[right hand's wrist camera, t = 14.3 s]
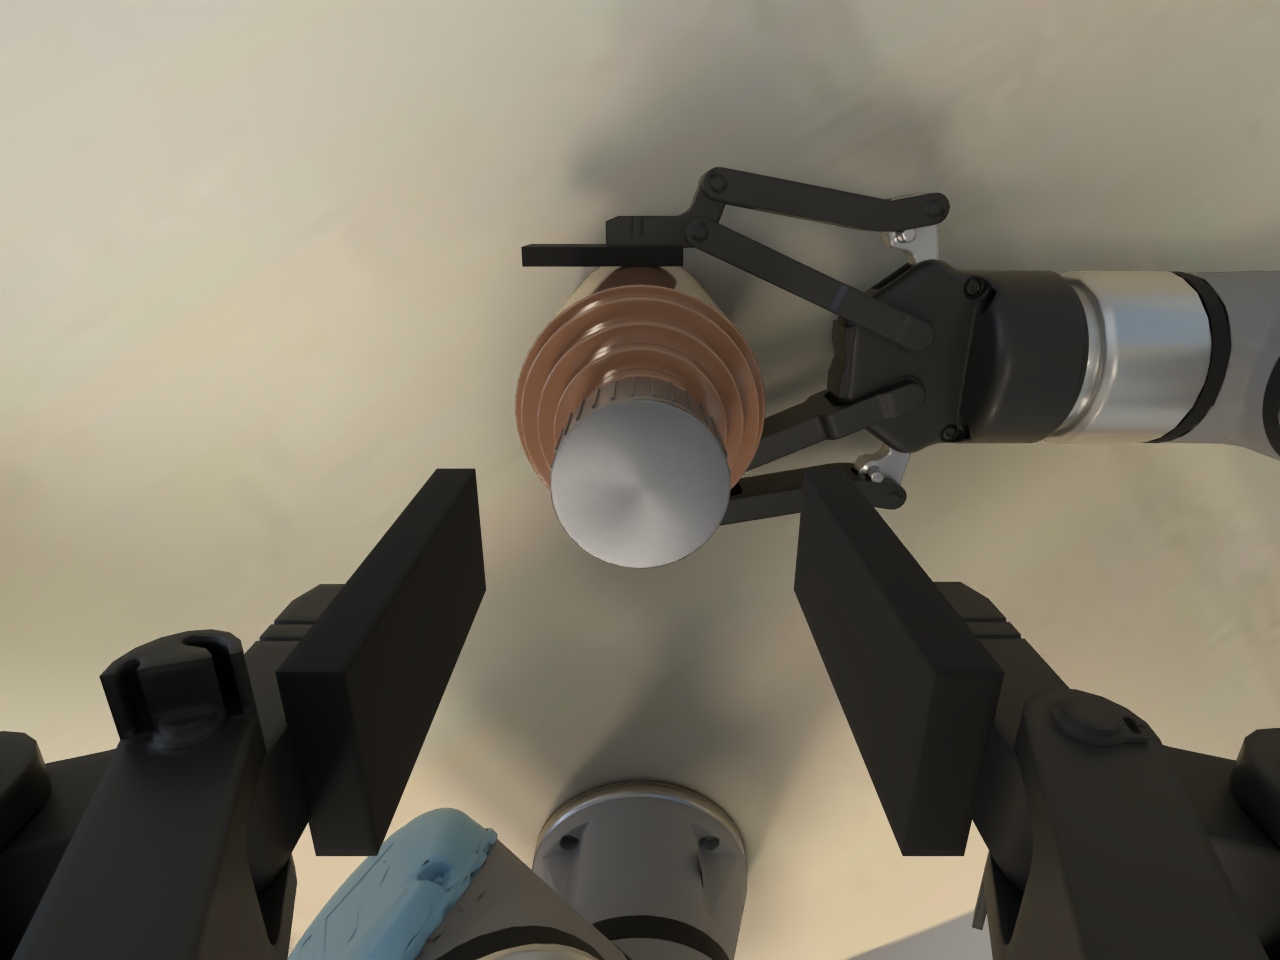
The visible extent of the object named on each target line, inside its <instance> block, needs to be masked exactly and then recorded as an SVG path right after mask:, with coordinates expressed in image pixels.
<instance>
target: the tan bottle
mask: <svg viewBox="0 0 1280 960" xmlns="http://www.w3.org/2000/svg"><path fill="white" fill-rule="evenodd" d="M632 377H635V378H646V379H651V377H654V379H655V380H660V381H664V382H667V383H669V382H672V383H673V385H675V386H677V387H679V388H681V389H683V390H684V391H686V390H688V391H689V392H690V395H691V396H693V397H694V398H695V399H696V400H697V401H698V402H699V403H701V402H702V403H703V404H704V407H705V410H706V411H707V413H708V414H709V416H710V417H712V416H713V418H714V420H715V423H716V426H717V429H718V432H719V433H720V435H721V437H722V440H723V443H724V446H725V448H726V451H727V454H728V458H726V459H727V462H728V466H729V469H730V472H731V476H730V478H731V489H732V488H733V487H734V486H735V485H736V483H737V482H738V481H739V480H740V478H741V477H742V476H743V475H744V473H745V471H746V470H747V468H748V466H749V465H750V463H751V461H752V460H753V457H754V455H755V453H756V450H757V448H758V446H759V442H760V439H761V435H762V432H763V426H764V419H765V394H764V386H763V381H762V377H761V373H760V369H759V367H758V364H757V362H756V359H755V357H754V355H753V352H752V351H751V349H750V347H749V346H748V344H747V342H746V341H745V339H744V338H743V336H742V335H741V334H740V333H739V331H738V330H737V329H736V328H735V326H734V325H733V324H732V323H731V321H730V320H729V319H728V318H727V317H726V315H725V314H724V313H723V312H722V311H721V309H720V308H719V307H718V306H717V305H716V304H715V302H714V301H713V300H712V299H711V298H710V296H709V295H708V294H707V293H706V292H705V290H704V289H703V288H702V287H701V286H700V284H699V283H698V282H697V281H696V280H695V279H694V278H693V277H692V276H691V275H690V274H689V273H688V272H687V271H685V270H684V269H683V268H681V267H643V266H639V267H599V268H598V269H596V270H595V271H594V272H592V273H591V274H590V275H589V276H588V277H587V278H586V279H585V280H584V281H583V283H582V284H581V285H580V286H579V287H578V289H577V290H576V291H575V292H574V293H573V295H572V296H571V297H570V298H569V299H568V301H567V302H566V303H565V304H564V305H563V307H562V308H561V309H560V310H559V311H558V313H557V314H556V315H555V316H554V318H553V319H552V320H551V321H550V322H549V324H548V325H547V326H546V327H545V328H544V330H543V331H542V332H541V333H540V334H539V336H538V337H537V339H536V340H535V342H534V343H533V345H532V347H531V348H530V350H529V352H528V354H527V356H526V359H525V361H524V363H523V365H522V369H521V372H520V376H519V379H518V384H517V391H516V405H515V413H516V421H517V429H518V433H519V437H520V440H521V444H522V446H523V449H524V451H525V454H526V456H527V458H528V460H529V462H530V464H531V465H532V467H533V469H534V471H535V472H536V473H537V475H538V476H539V477H540V479H541V480H542V481H543V483H544V484H545V485H546V486H547V487H548V488H549V489H550V477H551V471H550V467H551V465H552V462H553V459H554V456H555V452H554V451H555V448H556V445H557V442H558V439H559V437H560V434H561V431H562V428H564V429H565V426H566V423H567V420H568V417H569V414H570V413H571V412H572V413H574V411H575V410H576V408H577V407H578V406H579V405H580V402H581V400H582V399H584V400H585V399H586V398H587V397H588V396H590V395H591V394H592V393H594V392H595V390H596V388H598V387H599V389H600V388H602V387H604V386H606V385H608V384H611V383H613V381H614V380H616V381H621V380H626V379H632Z"/></svg>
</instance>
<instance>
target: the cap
mask: <svg viewBox="0 0 1280 960" xmlns="http://www.w3.org/2000/svg"><path fill="white" fill-rule="evenodd" d="M554 452H555V456H554V459H553V462H552V465H551V467H550V471H551V477H550V490H551V499H552V503H553V507H554V510H555V512H556V515H557V517H558V519H559V521H560V523H561V525H562V526H563V528H564V530H565V531H566V532H567V534H568V535H569V536H570V537H571V538H572V539H573V540H574V541H575V542H576V543H577V544H578V545H579V546H580V547H581V548H582V549H584V550H585V551H586V552H588V553H589V554H591V555H593V556H594V557H596V558H598V559H600V560H603V561H605V562H607V563H611V564H614V565H617V566H622V567H628V568H653V567H659V566H663V565H667V564H670V563H673V562H676V561H678V560H680V559H683V558H685V557H686V556H688V555H690V554H692V553H693V552H694V551H696V550H697V549H698V548H700V547H701V546H702V545H703V544H704V543H705V542H706V541H707V540H708V539H709V538H710V537H711V536H712V535H713V533H714V532H715V531H716V529H717V528H718V526H719V525H720V523H721V521H722V519H723V517H724V515H725V512H726V510H727V506H728V502H729V498H730V490H731V478H730V476H731V472H730V469H729V466H728V462H727V459H726V458H728V454H727V451H726V448H725V446H724V443H723V440H722V437H721V435H720V433H719V432H718V429H717V426H716V423H715V420H714V418H713V416H712V417H710V416H709V414H708V413H707V411H706V410H705V407H704V404H703V403H702V402H701V403H699V402H698V401H697V400H696V399H695V398H694V397H693V396H691V395H690V392H689V391H688V390H686V391H684V390H683V389H681V388H679V387H677V386H675V385H673V383H672V382H669V383H667V382H664V381H660V380H655V379H654V377H651V379H646V378H635V377H632V379H626V380H621V381H616V380H614V381H613V383H611V384H608V385H606V386H604V387H602V388H600V389H599V387H598V388H596V390H595V392H594V393H592V394H591V395H590V396H588V397H587V398H586V399H585V400H584V399H582V400H581V402H580V405H579V406H578V407H577V408H576V410H575V411H574V413H572V412H571V413H570V414H569V417H568V420H567V423H566V426H565V429H564V428H562V431H561V434H560V437H559V439H558V442H557V445H556V448H555V451H554Z"/></svg>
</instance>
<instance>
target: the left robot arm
mask: <svg viewBox="0 0 1280 960" xmlns="http://www.w3.org/2000/svg"><path fill="white" fill-rule="evenodd" d="M725 204H727V205H732V206H737V207H743V208H748V209H753V210H758V211H763V212H768V213H773V214H779V215H784V216H789V217H794V218H799V219H804V220H810V221H815V222H820V223H825V224H830V225H835V226H841V227H846V228H851V229H857V230H866V231H879V232H881V237H882V241H883V243H884V244H885V245H886V246H887V247H889V248H893V249H900V250H902V251H903V252H904V253H905V254H906V256H907V259H908V263H906V264H905V265H903V266H902V267H900V268H899V269H898V270H896V271H895V272H893V273H892V274H890V275H889V276H887V277H886V278H884V279H883V280H882V281H880V282H879V283H877V284H876V285H874V286H873V287H871V288H870V289H869V290H867V291H866V292H864V293H863V292H861V291H859V290H857V289H855V288H853V287H851V286H848V285H846V284H844V283H842V282H839V281H837V280H835V279H833V278H831V277H829V276H827V275H825V274H823V273H821V272H819V271H816V270H814V269H812V268H810V267H808V266H806V265H804V264H802V263H800V262H798V261H796V260H794V259H791V258H789V257H787V256H785V255H783V254H781V253H779V252H777V251H775V250H773V249H771V248H769V247H766V246H764V245H762V244H760V243H758V242H756V241H754V240H752V239H750V238H748V237H746V236H744V235H741V234H739V233H737V232H735V231H733V230H731V229H729V228H727V227H725V226H723V225H721V224H718V223H719V220H720V217H721V215H722V212H723V209H724V207H725ZM949 207H950V205H949V201H948V199H947V198H946V196H945V195H943V194H941V193H926V194H912V195H906V196H901V197H895V198H890V199H880V198H875V197H870V196H864V195H859V194H854V193H849V192H844V191H839V190H834V189H829V188H824V187H819V186H814V185H809V184H804V183H799V182H793V181H788V180H783V179H778V178H773V177H768V176H763V175H758V174H753V173H748V172H743V171H738V170H733V169H727V168H722V167H716V168H713V169H711V170H709V171H708V172H706V173H705V174H704V175H703V176H702V177H701V178H700V181H699V183H698V188H697V190H696V193H695V196H694V199H693V201H692V204H691V206H690V207H689V209H688V210H687V211H686V212H684V213H683V214H681V215H678V216H617V217H615V218H613V219H610V220H608V221H606V244H530V245H527V246H523V247H522V265H523V266H578V267H639V266H643V267H683V248H697V249H699V250H701V251H704V252H706V253H708V254H710V255H712V256H714V257H716V258H718V259H721V260H723V261H725V262H727V263H729V264H731V265H733V266H735V267H737V268H740V269H742V270H744V271H746V272H748V273H750V274H752V275H754V276H757V277H759V278H761V279H763V280H765V281H767V282H769V283H771V284H774V285H776V286H778V287H780V288H782V289H784V290H786V291H788V292H790V293H793V294H795V295H797V296H799V297H801V298H803V299H805V300H807V301H810V302H812V303H814V304H816V305H818V306H820V307H822V308H824V309H827V310H829V311H831V312H833V313H835V314H837V315H839V317H838V319H837V320H833V330H832V341H833V347H834V353H835V354H834V358H833V360H832V363H831V366H830V369H829V371H828V381H827V388H828V389H826V390H824V391H821V392H819V393H816V394H814V395H812V396H810V397H809V398H808V399H807V400H806V401H805V402H803V403H801V404H799V405H796V406H794V407H791V408H789V409H787V410H784V411H782V412H779V413H777V414H775V415H772V416H770V417H767V418H765V419H764V426H763V432H762V435H761V439H760V442H759V446H758V448H757V450H756V453H755V455H754V457H753V460H752V461H751V463H750V465H749V466H748V468H747V470H746V471H745V472H747V471H749V470H752V469H754V468H757V467H759V466H761V465H764V464H766V463H769V462H771V461H774V460H776V459H779V458H781V457H784V456H786V455H789V454H791V453H793V452H796V451H798V450H801V449H803V448H806V447H808V446H811V445H813V444H816V443H818V442H821V441H823V440H835V439H839V438H842V437H844V436H847V435H849V434H852V433H854V432H857V431H859V430H862V429H864V428H865V429H866V430H868V431H869V432H870V433H871V434H873V435H874V436H875V437H877V438H878V439H879V440H881V441H882V442H883V443H884V444H883V446H882V448H881V449H880V450H879V451H877V452H875V453H873V454H865V455H861V456H859V457H858V458H857V460H856V462H855V464H854V463H833V464H826V465H820V466H814V467H807V468H801V469H795V470H789V471H783V472H777V473H771V474H765V475H759V476H753V477H747V478H741V479H740V480H739V481H738V482H737V483H736V485H735V486H734V487H733V488H732V489H731V490H730V498H729V502H728V506H727V510H726V512H725V515H724V517H723V519H722V521H721V523H720V525H726V524H732V523H739V522H745V521H751V520H757V519H763V518H770V517H776V516H782V515H788V514H794V513H801V505H802V494H803V483H804V472H805V469H844V471H845V472H846V473H847V474H848V476H849V477H850V478H851V479H852V481H853V482H854V483H855V484H856V486H857V487H858V488H859V489H860V491H861V492H862V493H863V494H864V496H865V497H866V498H867V500H868V501H869V502H870V503H871V505H872V506H873V507H878V508H884V509H897V508H899V507H901V506H902V505H903V504H904V502H905V501H906V496H907V495H906V492H905V490H904V489H903V488H902V487H901V486H900V484H901V480H902V477H903V474H904V471H905V468H906V465H907V462H908V459H909V456H910V453H914V452H917V451H919V450H921V449H923V448H925V447H927V446H930V445H933V444H937V443H1034V442H1038V441H1041V440H1044V441H1046V442H1050V443H1056V444H1067V443H1121V442H1142V443H1160V442H1163V443H1221V444H1229V445H1236V446H1241V447H1245V448H1248V449H1251V450H1254V451H1256V452H1259V453H1261V454H1264V455H1266V456H1269V457H1272V458H1274V459H1277V460H1279V461H1280V271H1248V272H1206V273H1184V272H1170V271H1067V272H1064V273H1062V274H1060V275H1059V274H1057V273H1055V272H1052V271H965V270H957V269H955V268H953V267H952V266H950V265H949V264H947V263H945V262H943V261H941V260H939V223H941V222H942V221H943V220H944V219H945V218H946V216H947V215H948V213H949ZM720 525H719V526H720ZM746 892H747V865H746V859H745V853H744V847H743V843H742V840H741V837H740V835H739V832H738V830H737V829H736V827H735V825H734V824H733V822H732V821H731V820H730V818H729V817H728V816H727V815H726V814H725V813H724V812H723V811H722V810H721V809H720V808H719V807H718V806H716V805H715V804H714V803H712V802H711V801H709V800H708V799H706V798H704V797H703V796H701V795H699V794H697V793H695V792H693V791H690V790H688V789H685V788H682V787H679V786H675V785H672V784H666V783H661V782H653V781H626V782H618V783H613V784H608V785H604V786H600V787H597V788H594V789H592V790H589V791H587V792H584V793H582V794H580V795H578V796H576V797H575V798H573V799H571V800H570V801H568V802H567V803H566V804H564V805H563V806H562V807H560V808H559V809H558V810H557V811H556V812H555V813H554V814H553V815H552V816H551V817H550V819H549V820H548V821H547V823H546V824H545V825H544V827H543V829H542V831H541V833H540V835H539V838H538V840H537V844H536V848H535V854H534V860H533V867H532V870H531V869H530V868H529V867H528V866H527V865H526V864H524V863H523V862H522V861H521V860H520V859H519V858H518V857H517V856H516V855H514V854H513V853H512V852H511V851H510V850H509V849H508V848H507V847H506V846H505V845H503V844H502V843H501V842H500V841H499V840H498V839H497V833H496V832H495V831H494V830H493V829H491V828H487V829H485V828H483V827H482V826H481V825H479V824H478V823H477V822H475V821H474V820H473V819H472V818H470V817H469V816H468V815H466V814H465V813H464V812H462V811H460V810H457V809H453V808H440V809H435V810H432V811H429V812H426V813H424V814H422V815H420V816H418V817H416V818H415V819H413V820H412V821H410V822H409V823H408V824H406V825H405V826H403V827H402V828H400V829H399V830H398V831H396V832H395V833H394V834H392V835H391V836H390V837H389V838H388V839H387V840H385V841H384V842H383V843H382V845H381V848H380V850H379V853H378V855H377V856H368V857H367V858H366V859H365V860H364V861H363V862H362V863H361V865H360V866H359V867H358V868H357V869H356V870H355V871H354V872H353V873H352V874H351V875H350V876H349V877H348V879H347V880H346V881H345V882H344V883H343V884H342V886H341V887H340V888H339V889H338V890H337V891H336V893H335V894H334V895H333V896H332V898H331V899H330V900H329V901H328V902H327V904H326V905H325V906H324V907H323V909H322V910H321V911H320V913H319V914H318V915H317V917H316V918H315V919H314V921H313V922H312V923H311V925H310V926H309V928H308V929H307V930H306V932H305V933H304V935H303V936H302V937H301V939H300V940H299V942H298V943H297V945H296V946H295V948H294V950H293V951H292V953H291V954H290V956H289V957H288V959H287V960H734V956H735V951H736V945H737V940H738V935H739V930H740V925H741V919H742V914H743V909H744V904H745V899H746Z"/></svg>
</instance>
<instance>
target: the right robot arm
mask: <svg viewBox="0 0 1280 960" xmlns="http://www.w3.org/2000/svg"><path fill="white" fill-rule="evenodd" d="M485 591H486V583H485V572H484V561H483V550H482V539H481V527H480V516H479V505H478V494H477V483H476V472H475V469H436V471H435V472H434V473H433V474H432V476H431V477H430V478H429V479H428V481H427V482H426V483H425V484H424V486H423V487H422V488H421V489H420V491H419V492H418V493H417V494H416V496H415V497H414V498H413V500H412V501H411V502H410V503H409V505H408V506H407V507H406V508H405V510H404V511H403V512H402V513H401V515H400V516H399V517H398V518H397V520H396V521H395V522H394V523H393V525H392V526H391V527H390V528H389V530H388V531H387V532H386V534H385V535H384V536H383V537H382V539H381V540H380V541H379V542H378V544H377V545H376V546H375V547H374V549H373V550H372V551H371V552H370V554H369V555H368V556H367V557H366V559H365V560H364V561H363V562H362V564H361V565H360V566H359V567H358V569H357V570H356V571H355V573H354V574H353V575H352V576H351V578H350V579H349V580H348V581H347V583H346V584H320V585H318V586H316V587H315V588H313V589H311V590H310V591H308V592H306V593H305V594H303V595H301V596H300V597H298V598H296V599H295V600H293V601H292V602H291V603H290V604H289V605H288V606H287V607H286V608H285V610H284V611H283V612H282V613H281V614H280V615H279V616H278V617H277V618H276V620H275V621H274V622H275V623H274V625H270V626H269V627H268V628H267V630H266V631H265V632H264V633H263V634H262V635H261V636H260V641H256V642H255V643H254V644H253V645H252V646H251V647H250V649H249V650H248V651H247V652H246V653H245V654H244V652H243V648H242V644H241V640H239V639H238V638H237V637H235V636H234V635H233V634H231V633H229V632H224V631H218V630H212V629H211V630H197V631H186V632H182V633H178V634H174V635H170V636H165V637H161V638H159V639H156V640H154V641H151V642H149V643H146V644H144V645H141V646H139V647H137V648H134V649H133V650H131V651H130V652H128V653H126V654H125V655H123V656H122V657H120V658H118V659H117V660H115V661H113V662H112V664H111V665H110V666H109V667H108V668H107V669H106V670H105V671H104V672H103V673H102V674H101V675H100V676H99V677H100V680H101V683H102V686H103V689H104V692H105V695H106V698H107V701H108V704H109V707H110V710H111V713H112V716H113V719H114V722H115V725H116V728H117V731H118V734H119V737H120V742H119V744H118V746H117V748H116V749H113V750H109V751H104V752H99V753H95V754H90V755H85V756H80V757H75V758H71V759H66V760H61V761H56V762H51V763H47V764H45V763H44V760H43V758H42V755H41V752H40V750H39V747H38V745H37V742H36V740H34V739H33V738H31V737H30V736H28V735H27V734H25V733H20V732H7V731H1V732H0V960H287V958H288V950H289V942H290V934H291V926H292V918H293V910H294V902H295V895H296V887H297V878H296V871H295V865H294V861H293V857H292V851H293V849H294V847H295V845H296V844H297V842H298V840H299V838H300V836H301V834H302V833H303V831H304V829H305V827H306V825H307V823H308V822H309V826H310V831H311V835H312V840H313V844H314V849H315V853H316V856H377V855H378V853H379V850H380V848H381V845H382V843H383V841H384V838H385V836H386V833H387V831H388V828H389V826H390V823H391V821H392V819H393V816H394V814H395V811H396V809H397V806H398V804H399V801H400V799H401V796H402V794H403V792H404V789H405V787H406V784H407V782H408V779H409V777H410V774H411V772H412V770H413V767H414V765H415V762H416V760H417V757H418V755H419V752H420V750H421V748H422V745H423V743H424V740H425V738H426V735H427V733H428V730H429V728H430V726H431V723H432V721H433V718H434V716H435V713H436V711H437V708H438V706H439V704H440V701H441V699H442V696H443V694H444V691H445V689H446V686H447V684H448V682H449V679H450V677H451V674H452V672H453V669H454V667H455V664H456V662H457V660H458V657H459V655H460V652H461V650H462V647H463V645H464V642H465V640H466V638H467V635H468V633H469V630H470V628H471V625H472V623H473V620H474V618H475V616H476V613H477V611H478V608H479V606H480V603H481V601H482V598H483V596H484V593H485ZM794 591H795V593H796V596H797V598H798V601H799V603H800V606H801V608H802V611H803V613H804V616H805V618H806V620H807V623H808V625H809V628H810V630H811V633H812V635H813V638H814V640H815V642H816V645H817V647H818V650H819V652H820V655H821V657H822V660H823V662H824V664H825V667H826V669H827V672H828V674H829V677H830V679H831V682H832V684H833V686H834V689H835V691H836V694H837V696H838V699H839V701H840V704H841V706H842V708H843V711H844V713H845V716H846V718H847V721H848V723H849V726H850V728H851V730H852V733H853V735H854V738H855V740H856V743H857V745H858V748H859V750H860V752H861V755H862V757H863V760H864V762H865V765H866V767H867V770H868V772H869V774H870V777H871V779H872V782H873V784H874V787H875V789H876V792H877V794H878V797H879V799H880V801H881V804H882V806H883V809H884V811H885V814H886V816H887V819H888V821H889V823H890V826H891V828H892V831H893V833H894V836H895V838H896V841H897V843H898V845H899V848H900V850H901V853H902V855H903V856H964V853H965V849H966V844H967V840H968V835H969V831H970V826H971V822H972V820H973V822H974V823H975V825H976V827H977V829H978V831H979V833H980V834H981V836H982V838H983V840H984V842H985V844H986V845H987V847H988V849H989V853H988V857H987V861H986V865H985V869H984V874H983V878H982V882H981V886H980V890H979V894H978V899H977V903H976V907H975V911H974V918H973V925H972V927H973V928H976V929H980V930H982V929H983V925H984V921H985V917H986V914H987V916H988V924H989V932H990V940H991V948H992V956H993V960H1280V728H1271V729H1259V730H1256V731H1254V732H1253V733H1251V734H1250V735H1248V736H1247V737H1245V739H1244V742H1243V745H1242V747H1241V750H1240V752H1239V755H1238V758H1237V760H1236V761H1235V760H1230V759H1225V758H1220V757H1215V756H1211V755H1206V754H1201V753H1196V752H1191V751H1186V750H1182V749H1177V748H1172V747H1168V746H1165V745H1162V743H1161V741H1160V739H1159V738H1158V736H1157V735H1156V734H1155V733H1154V731H1153V730H1152V729H1151V727H1150V726H1149V725H1148V724H1147V723H1146V722H1145V721H1143V720H1142V719H1141V718H1139V717H1138V716H1137V715H1135V714H1134V713H1132V712H1131V711H1130V710H1128V709H1127V708H1125V707H1123V706H1121V705H1119V704H1116V703H1114V702H1112V701H1110V700H1108V699H1106V698H1104V697H1101V696H1098V695H1094V694H1091V693H1087V692H1083V691H1080V690H1075V689H1070V688H1069V687H1068V686H1067V685H1066V684H1065V683H1064V682H1063V681H1062V680H1061V678H1060V677H1059V676H1058V675H1057V674H1056V673H1055V672H1054V671H1053V670H1052V669H1051V667H1050V666H1049V665H1048V664H1047V663H1046V662H1045V661H1044V660H1043V659H1042V657H1041V656H1040V655H1039V654H1038V653H1037V652H1036V651H1035V650H1034V649H1033V647H1032V646H1031V645H1030V644H1029V643H1028V642H1027V641H1026V640H1025V639H1021V634H1020V633H1019V632H1018V631H1017V630H1016V629H1015V628H1014V626H1013V625H1012V624H1011V623H1010V622H1006V618H1005V616H1004V615H1003V614H1002V613H1001V612H1000V611H999V610H998V609H997V608H996V607H995V605H994V604H993V603H992V602H991V601H990V600H989V599H988V598H986V597H985V596H983V595H981V594H980V593H978V592H976V591H975V590H973V589H971V588H970V587H968V586H966V585H965V584H963V583H961V582H933V581H932V580H931V579H930V578H929V576H928V575H927V574H926V573H925V571H924V570H923V569H922V568H921V566H920V565H919V564H918V562H917V561H916V560H915V559H914V557H913V556H912V555H911V554H910V552H909V551H908V550H907V549H906V547H905V546H904V545H903V544H902V542H901V541H900V540H899V539H898V537H897V536H896V535H895V534H894V532H893V531H892V530H891V528H890V527H889V526H888V525H887V523H886V522H885V521H884V520H883V518H882V517H881V516H880V515H879V513H878V512H877V511H876V510H875V508H874V507H873V506H872V505H871V503H870V502H869V501H868V500H867V498H866V497H865V496H864V494H863V493H862V492H861V491H860V489H859V488H858V487H857V486H856V484H855V483H854V482H853V481H852V479H851V478H850V477H849V476H848V474H847V473H846V472H845V471H844V469H805V472H804V483H803V494H802V505H801V516H800V527H799V539H798V550H797V561H796V572H795V583H794Z"/></svg>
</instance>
